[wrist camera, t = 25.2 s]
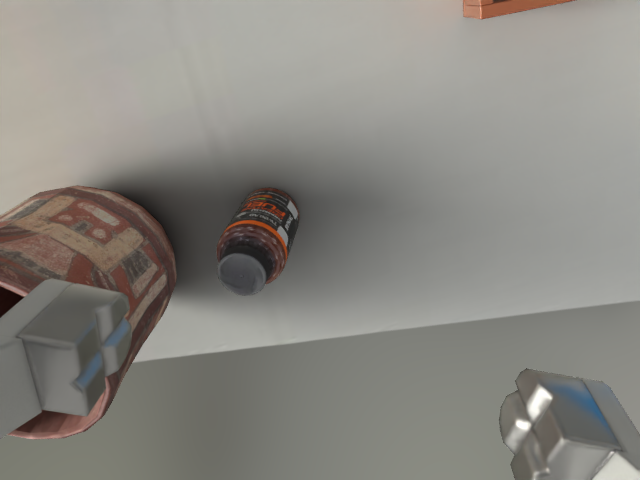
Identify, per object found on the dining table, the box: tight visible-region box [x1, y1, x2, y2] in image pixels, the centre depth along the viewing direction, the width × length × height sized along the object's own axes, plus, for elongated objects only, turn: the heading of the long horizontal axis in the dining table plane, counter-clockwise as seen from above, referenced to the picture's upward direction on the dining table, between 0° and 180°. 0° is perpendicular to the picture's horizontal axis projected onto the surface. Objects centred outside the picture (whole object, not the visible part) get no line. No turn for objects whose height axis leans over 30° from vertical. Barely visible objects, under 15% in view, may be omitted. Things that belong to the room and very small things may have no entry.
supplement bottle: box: [217, 188, 299, 296], centre depth 37 cm, size 6×6×11 cm
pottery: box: [0, 186, 177, 439], centre depth 38 cm, size 18×18×18 cm
